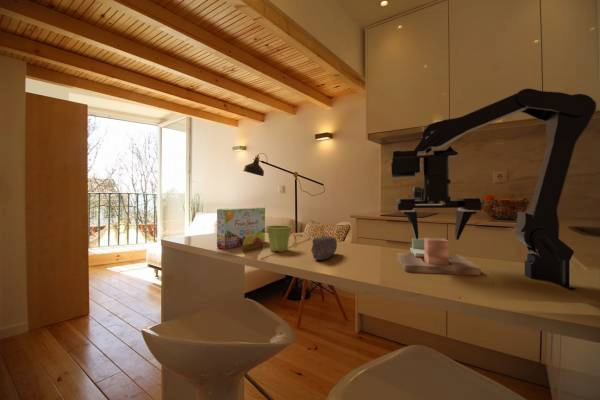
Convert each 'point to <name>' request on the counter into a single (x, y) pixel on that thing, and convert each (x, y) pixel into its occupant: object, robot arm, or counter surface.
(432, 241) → the block
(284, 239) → the plant pot
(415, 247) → the slide cover
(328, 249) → the perforated stone tool
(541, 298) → the counter surface
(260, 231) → the snack box
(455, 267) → the puzzle board
